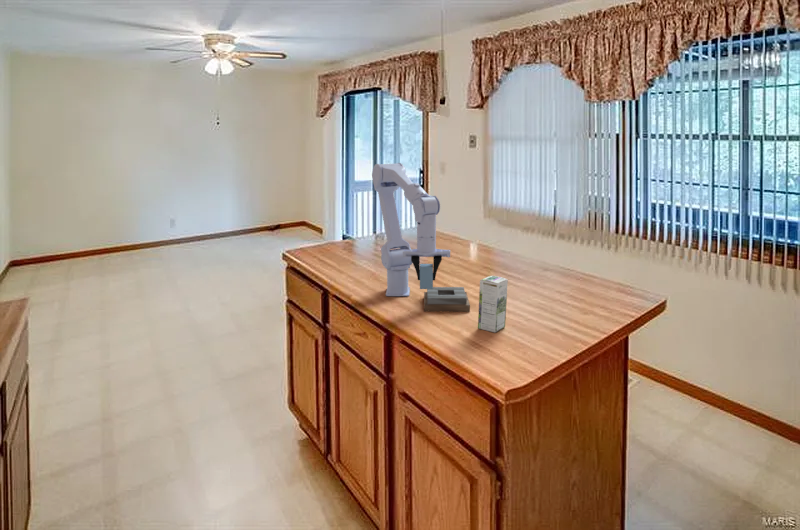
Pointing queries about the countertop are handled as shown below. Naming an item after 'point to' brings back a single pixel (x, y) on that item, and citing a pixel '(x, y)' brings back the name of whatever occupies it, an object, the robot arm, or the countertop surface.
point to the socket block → (446, 299)
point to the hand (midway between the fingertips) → (426, 279)
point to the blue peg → (426, 276)
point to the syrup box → (492, 303)
